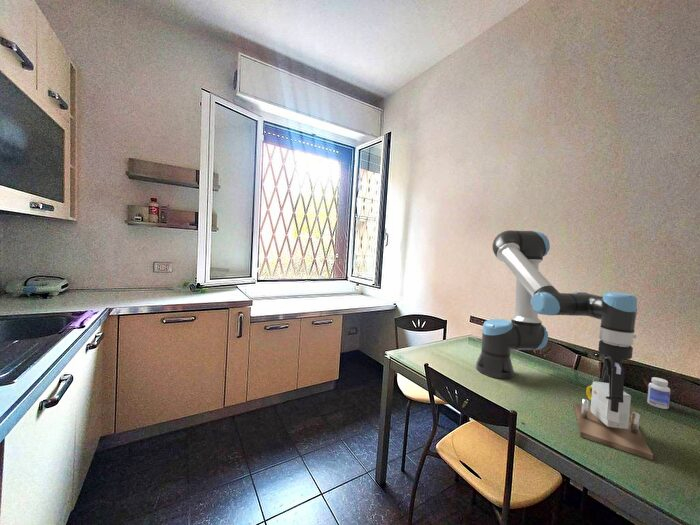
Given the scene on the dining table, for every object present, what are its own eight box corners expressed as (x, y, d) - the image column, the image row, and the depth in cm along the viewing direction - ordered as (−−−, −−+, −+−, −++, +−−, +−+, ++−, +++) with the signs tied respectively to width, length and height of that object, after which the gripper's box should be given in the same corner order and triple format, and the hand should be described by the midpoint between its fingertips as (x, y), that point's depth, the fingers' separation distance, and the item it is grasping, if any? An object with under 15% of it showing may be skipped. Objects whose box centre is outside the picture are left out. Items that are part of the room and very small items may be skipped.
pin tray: (580, 436, 82) (582, 412, 82) (574, 406, 99) (575, 385, 98) (652, 460, 74) (655, 433, 73) (632, 422, 90) (634, 400, 90)
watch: (605, 406, 100) (607, 391, 99) (597, 406, 99) (600, 391, 99) (590, 396, 105) (592, 382, 105) (583, 396, 105) (585, 382, 105)
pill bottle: (672, 411, 98) (675, 384, 97) (652, 407, 100) (655, 381, 99) (661, 402, 103) (664, 377, 102) (643, 399, 105) (645, 375, 104)
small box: (628, 430, 82) (632, 396, 81) (606, 427, 83) (610, 393, 82) (609, 414, 89) (612, 382, 89) (589, 411, 91) (592, 380, 90)
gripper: (643, 357, 73) (635, 436, 75) (624, 336, 91) (617, 401, 93) (605, 350, 78) (598, 425, 79) (594, 331, 96) (588, 393, 97)
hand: (608, 412), depth 86 cm, fingers closed on small box, 9 cm apart
